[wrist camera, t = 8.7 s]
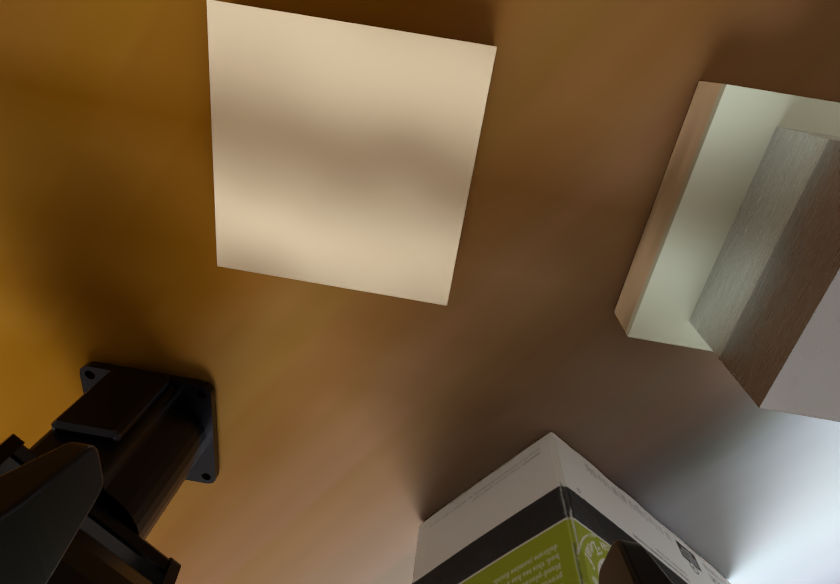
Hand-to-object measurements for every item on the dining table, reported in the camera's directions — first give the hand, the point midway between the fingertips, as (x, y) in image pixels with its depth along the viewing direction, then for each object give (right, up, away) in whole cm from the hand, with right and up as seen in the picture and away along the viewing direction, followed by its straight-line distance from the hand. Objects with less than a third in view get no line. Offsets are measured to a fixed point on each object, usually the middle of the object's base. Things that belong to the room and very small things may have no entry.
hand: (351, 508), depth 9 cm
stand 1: (-1, +9, +10) cm, 14 cm away
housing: (+14, +5, +8) cm, 17 cm away
